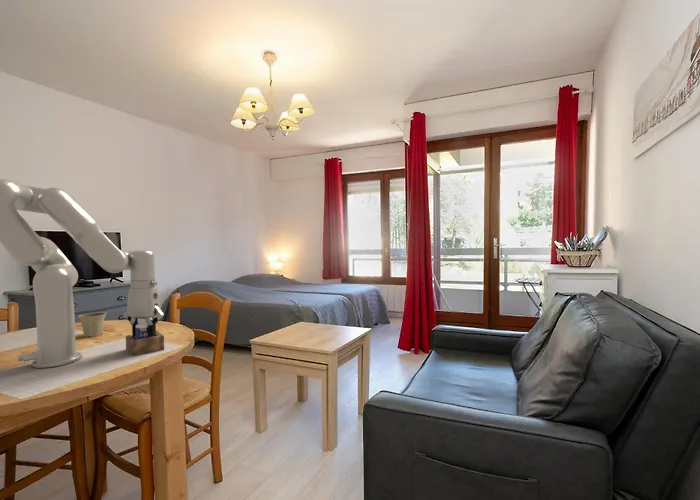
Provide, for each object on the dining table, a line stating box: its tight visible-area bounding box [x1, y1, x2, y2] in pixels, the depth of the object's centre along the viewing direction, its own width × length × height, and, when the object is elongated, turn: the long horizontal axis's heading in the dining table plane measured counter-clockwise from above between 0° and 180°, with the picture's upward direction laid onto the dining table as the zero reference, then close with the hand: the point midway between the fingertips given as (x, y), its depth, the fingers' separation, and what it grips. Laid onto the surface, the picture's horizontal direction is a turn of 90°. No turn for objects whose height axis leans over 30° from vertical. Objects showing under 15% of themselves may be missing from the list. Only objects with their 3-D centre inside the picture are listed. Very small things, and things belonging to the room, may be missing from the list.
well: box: [125, 330, 165, 357], centre depth 127 cm, size 10×10×5 cm
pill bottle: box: [135, 317, 153, 340], centre depth 127 cm, size 5×5×9 cm
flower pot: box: [78, 311, 107, 338], centre depth 147 cm, size 9×9×9 cm
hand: (144, 334), depth 127 cm, fingers closed on pill bottle, 5 cm apart
